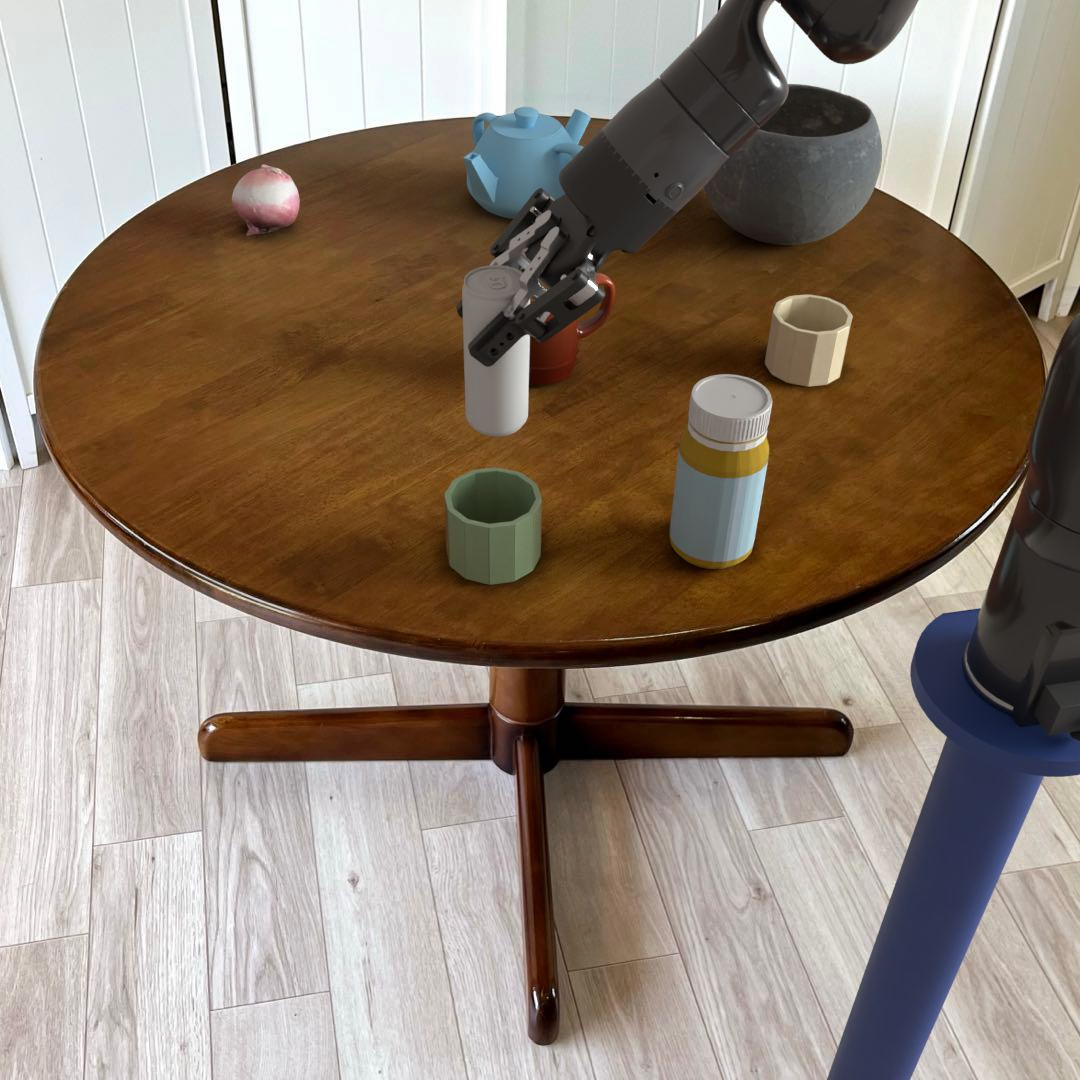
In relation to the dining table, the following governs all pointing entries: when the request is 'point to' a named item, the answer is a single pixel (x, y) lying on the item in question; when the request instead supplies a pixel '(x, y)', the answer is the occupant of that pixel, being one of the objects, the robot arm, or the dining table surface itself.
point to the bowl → (801, 169)
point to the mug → (566, 341)
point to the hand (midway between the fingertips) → (471, 337)
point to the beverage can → (503, 386)
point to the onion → (266, 199)
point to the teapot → (520, 157)
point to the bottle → (721, 471)
